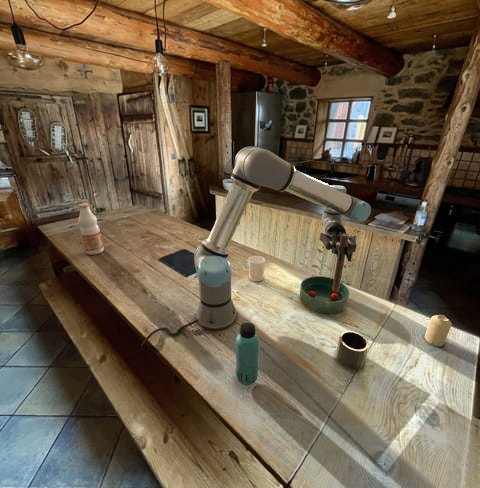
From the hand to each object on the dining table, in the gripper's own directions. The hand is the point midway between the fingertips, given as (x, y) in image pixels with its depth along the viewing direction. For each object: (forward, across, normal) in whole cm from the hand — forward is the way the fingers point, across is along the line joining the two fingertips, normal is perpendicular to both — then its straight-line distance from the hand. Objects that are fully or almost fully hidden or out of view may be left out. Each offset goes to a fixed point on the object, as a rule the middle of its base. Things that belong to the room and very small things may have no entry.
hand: (345, 257), depth 85 cm
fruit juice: (-40, +127, -16) cm, 134 cm away
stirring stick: (-6, 0, -16) cm, 17 cm away
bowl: (-17, +2, -29) cm, 34 cm away
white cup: (-29, +32, -29) cm, 52 cm away
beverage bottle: (+27, +28, -29) cm, 48 cm away
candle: (0, -34, -29) cm, 45 cm away
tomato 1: (-17, +6, -27) cm, 32 cm away
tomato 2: (-17, -3, -27) cm, 32 cm away
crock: (+14, -3, -29) cm, 32 cm away
